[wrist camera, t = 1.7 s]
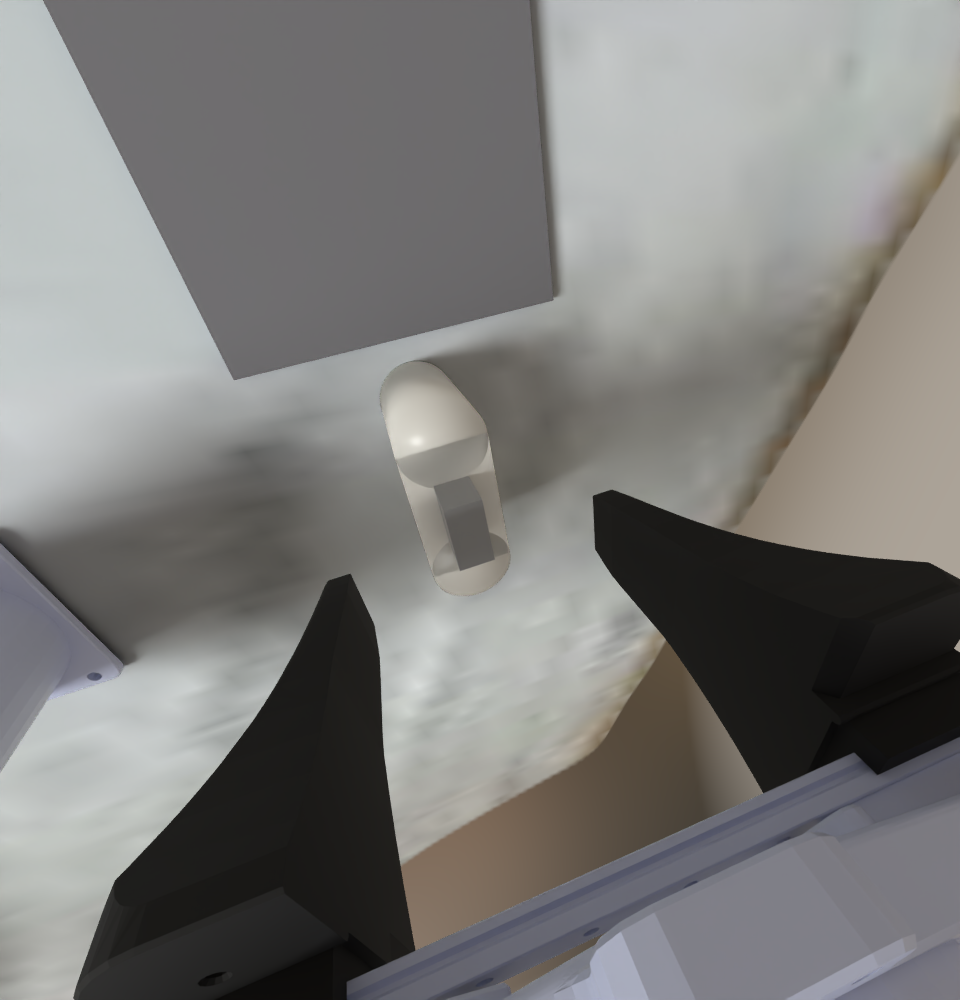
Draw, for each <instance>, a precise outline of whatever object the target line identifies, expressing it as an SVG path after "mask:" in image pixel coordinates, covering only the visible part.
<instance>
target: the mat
mask: <svg viewBox="0 0 960 1000" xmlns="http://www.w3.org/2000/svg"><path fill="white" fill-rule="evenodd" d="M43 1H44V3H45V5H46V7H47V9H48V11H49V13H50V15H51V17H52V19H53V21H54V23H55V25H56V27H57V29H58V31H59V33H60V35H61V37H62V39H63V41H64V43H65V45H66V47H67V49H68V51H69V53H70V55H71V57H72V59H73V61H74V63H75V65H76V67H77V69H78V71H79V73H80V75H81V77H82V79H83V81H84V83H85V85H86V87H87V89H88V91H89V93H90V95H91V97H92V99H93V101H94V103H95V105H96V107H97V109H98V111H99V112H100V114H101V116H102V118H103V120H104V122H105V124H106V126H107V128H108V130H109V132H110V134H111V136H112V138H113V140H114V142H115V144H116V146H117V148H118V150H119V152H120V154H121V156H122V158H123V160H124V162H125V164H126V166H127V168H128V170H129V172H130V174H131V176H132V178H133V180H134V182H135V184H136V186H137V188H138V190H139V192H140V194H141V196H142V198H143V200H144V202H145V204H146V206H147V208H148V210H149V212H150V214H151V216H152V218H153V220H154V222H155V224H156V226H157V228H158V230H159V232H160V234H161V236H162V238H163V240H164V242H165V244H166V246H167V248H168V250H169V252H170V254H171V256H172V258H173V260H174V262H175V264H176V266H177V268H178V270H179V272H180V274H181V276H182V278H183V280H184V282H185V284H186V286H187V288H188V290H189V292H190V294H191V296H192V298H193V300H194V302H195V304H196V306H197V308H198V310H199V312H200V314H201V316H202V318H203V320H204V322H205V324H206V326H207V328H208V330H209V332H210V334H211V336H212V338H213V340H214V342H215V343H216V345H217V347H218V349H219V351H220V353H221V355H222V357H223V359H224V361H225V363H226V365H227V367H228V369H229V371H230V373H231V375H232V377H233V379H234V380H237V379H241V378H245V377H249V376H253V375H257V374H261V373H265V372H269V371H273V370H277V369H281V368H285V367H289V366H293V365H297V364H301V363H305V362H309V361H313V360H317V359H321V358H325V357H329V356H333V355H337V354H341V353H345V352H349V351H353V350H357V349H361V348H365V347H369V346H373V345H377V344H381V343H385V342H389V341H393V340H397V339H401V338H405V337H409V336H413V335H417V334H421V333H425V332H429V331H433V330H437V329H441V328H445V327H449V326H453V325H457V324H461V323H465V322H469V321H473V320H476V319H480V318H484V317H488V316H492V315H496V314H500V313H504V312H508V311H512V310H516V309H520V308H524V307H528V306H532V305H536V304H540V303H544V302H548V301H552V300H553V289H552V276H551V263H550V251H549V238H548V226H547V213H546V201H545V188H544V176H543V163H542V150H541V138H540V125H539V113H538V100H537V88H536V75H535V63H534V50H533V38H532V25H531V12H530V0H43Z"/></svg>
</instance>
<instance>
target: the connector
mask: <svg viewBox="0 0 960 1000" xmlns="http://www.w3.org/2000/svg"><path fill="white" fill-rule="evenodd" d="M380 404H381V408H382V412H383V416H384V420H385V423H386V427H387V431H388V435H389V438H390V442H391V446H392V450H393V453H394V457H395V461H396V464H397V467H398V470H399V473H400V476H401V479H402V482H403V485H404V488H405V491H406V494H407V497H408V500H409V503H410V506H411V510H412V513H413V516H414V519H415V522H416V525H417V528H418V531H419V534H420V537H421V540H422V543H423V546H424V549H425V552H426V555H427V559H428V562H429V565H430V568H431V571H432V574H433V577H434V579H435V582H436V583H437V585H438V586H439V587H440V588H441V589H442V590H444V591H445V592H447V593H450V594H453V595H457V596H470V595H475V594H479V593H481V592H484V591H486V590H488V589H490V588H491V587H493V586H494V585H495V584H497V583H498V582H499V581H500V580H501V579H502V577H503V576H504V575H505V573H506V571H507V569H508V567H509V564H510V550H509V544H508V539H507V534H506V528H505V523H504V517H503V512H502V507H501V501H500V496H499V491H498V485H497V480H496V474H495V469H494V464H493V458H492V453H491V447H490V442H489V437H488V432H487V428H486V425H485V423H484V420H483V419H482V417H481V416H480V414H479V413H478V412H477V411H476V410H475V408H474V407H473V406H472V405H471V404H470V403H469V401H468V400H467V399H466V398H465V397H464V396H463V394H462V393H461V392H460V391H459V390H458V389H457V387H456V386H455V385H454V384H453V383H452V382H451V380H450V379H449V378H448V377H447V376H446V375H445V373H444V372H443V371H442V370H441V369H439V368H438V367H436V366H434V365H433V364H430V363H427V362H423V361H412V362H407V363H404V364H402V365H399V366H398V367H396V368H395V369H393V370H392V371H391V372H390V373H389V374H388V376H387V377H386V379H385V380H384V382H383V384H382V387H381V392H380Z"/></svg>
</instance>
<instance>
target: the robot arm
mask: <svg viewBox="0 0 960 1000" xmlns="http://www.w3.org/2000/svg"><path fill="white" fill-rule="evenodd" d="M593 509H594V532H595V550H596V551H597V553H598V554H599V556H600V558H601V559H602V561H603V563H604V564H605V566H606V567H607V569H608V570H609V572H610V573H611V575H612V576H613V577H614V579H615V580H616V581H617V582H618V583H619V585H620V586H621V587H622V588H623V589H624V591H625V592H626V593H627V594H628V595H629V596H630V598H631V599H632V600H633V601H634V602H635V603H636V605H637V606H638V607H639V608H640V609H641V610H642V612H643V613H644V614H645V615H646V616H647V617H648V619H649V620H650V621H651V622H652V623H653V624H654V626H655V627H656V628H657V629H658V630H659V631H660V633H661V634H662V635H663V636H664V638H665V639H666V640H667V642H668V643H669V644H670V645H671V647H672V648H673V650H674V651H675V652H676V654H677V655H678V657H679V658H680V660H681V661H682V663H683V664H684V665H685V667H686V668H687V670H688V671H689V673H690V674H691V676H692V677H693V679H694V680H695V682H696V683H697V684H698V686H699V688H700V689H701V691H702V692H703V694H704V695H705V697H706V698H707V700H708V701H709V703H710V704H711V706H712V708H713V709H714V711H715V712H716V714H717V716H718V717H719V719H720V721H721V722H722V724H723V725H724V727H725V728H726V730H727V731H728V733H729V735H730V737H731V738H732V740H733V742H734V743H735V745H736V746H737V748H738V750H739V752H740V753H741V755H742V757H743V759H744V760H745V762H746V764H747V765H748V767H749V769H750V771H751V772H752V774H753V776H754V778H755V779H756V781H757V783H758V784H759V786H760V788H761V790H762V792H763V794H761V795H759V796H757V797H754V798H752V799H750V800H748V801H746V802H743V803H741V804H739V805H737V806H734V807H733V808H730V809H728V810H726V811H723V812H721V813H719V814H717V815H715V816H712V817H710V818H708V819H706V820H704V821H701V822H699V823H697V824H695V825H692V826H690V827H688V828H686V829H684V830H681V831H679V832H677V833H675V834H673V835H670V836H668V837H666V838H664V839H662V840H659V841H657V842H655V843H653V844H650V845H648V846H646V847H644V848H642V849H639V850H637V851H635V852H633V853H631V854H628V855H626V856H624V857H622V858H620V859H617V860H615V861H613V862H611V863H609V864H606V865H604V866H602V867H600V868H597V869H595V870H593V871H591V872H589V873H586V874H584V875H582V876H580V877H577V878H575V879H573V880H571V881H569V882H566V883H564V884H562V885H560V886H558V887H555V888H553V889H551V890H549V891H547V892H544V893H542V894H540V895H538V896H535V897H533V898H531V899H529V900H527V901H525V902H522V903H520V904H518V905H516V906H513V907H511V908H509V909H507V910H504V911H502V912H500V913H498V914H496V915H494V916H491V917H489V918H487V919H485V920H482V921H480V922H478V923H476V924H474V925H471V926H469V927H467V928H465V929H463V930H460V931H458V932H456V933H454V934H451V935H449V936H447V937H445V938H443V939H440V940H438V941H436V942H434V943H432V944H429V945H427V946H425V947H423V948H421V949H418V950H416V951H415V946H414V941H413V935H412V930H411V924H410V918H409V913H408V907H407V902H406V896H405V890H404V885H403V879H402V873H401V866H400V860H399V854H398V848H397V842H396V836H395V829H394V822H393V816H392V809H391V802H390V795H389V788H388V781H387V773H386V766H385V759H384V748H383V733H382V704H381V677H380V657H379V650H378V644H377V638H376V632H375V626H374V623H373V621H372V619H371V617H370V614H369V612H368V610H367V608H366V606H365V604H364V602H363V599H362V597H361V595H360V593H359V591H358V589H357V587H356V585H355V582H354V580H353V578H352V576H351V574H348V575H345V576H342V577H339V578H335V579H332V580H329V581H328V582H327V584H326V585H325V588H324V590H323V592H322V594H321V597H320V599H319V601H318V604H317V606H316V608H315V610H314V613H313V615H312V617H311V619H310V621H309V624H308V626H307V628H306V630H305V632H304V634H303V636H302V638H301V640H300V642H299V644H298V646H297V648H296V650H295V652H294V654H293V656H292V657H291V659H290V661H289V663H288V665H287V667H286V668H285V670H284V672H283V674H282V676H281V677H280V679H279V681H278V683H277V684H276V686H275V688H274V689H273V691H272V692H271V694H270V696H269V697H268V699H267V700H266V702H265V704H264V705H263V707H262V708H261V710H260V711H259V713H258V714H257V716H256V717H255V719H254V720H253V722H252V723H251V724H250V726H249V727H248V728H247V730H246V731H245V732H244V734H243V735H242V736H241V738H240V739H239V740H238V742H237V743H236V744H235V746H234V747H233V748H232V750H231V751H230V752H229V754H228V755H227V756H226V758H225V759H224V760H223V762H222V763H221V764H220V765H219V767H218V768H217V769H216V770H215V772H214V773H213V774H212V775H211V776H210V778H209V779H208V780H207V781H206V782H205V784H204V785H203V786H202V787H201V788H200V790H199V791H198V792H197V793H196V794H195V795H194V797H193V798H192V799H191V800H190V801H189V802H188V803H187V805H186V806H185V807H184V808H183V809H182V810H181V811H180V813H179V814H178V815H177V816H176V817H175V818H174V819H173V820H172V821H171V823H170V824H169V825H168V826H167V827H166V828H165V829H164V830H163V831H162V832H161V833H160V834H159V835H158V836H157V837H156V838H155V840H154V841H153V842H152V843H151V844H150V845H149V846H148V847H147V848H146V849H145V850H144V851H143V852H142V853H141V854H140V855H139V856H138V857H137V858H136V860H135V861H134V862H133V863H132V864H131V865H130V866H129V867H128V868H127V869H126V870H125V871H124V872H123V873H122V874H121V875H120V876H119V877H118V878H117V879H116V880H115V882H114V884H113V887H112V889H111V892H110V894H109V897H108V899H107V902H106V905H105V907H104V910H103V912H102V915H101V918H100V921H99V924H98V926H97V929H96V932H95V935H94V938H93V940H92V943H91V946H90V949H89V952H88V955H87V957H86V960H85V963H84V966H83V969H82V972H81V974H80V977H79V980H78V983H77V986H76V989H75V993H74V997H73V998H74V1000H960V652H958V651H956V650H955V649H954V647H955V646H956V644H957V643H958V641H959V640H960V579H959V578H957V577H955V576H953V575H951V574H949V573H948V572H945V571H944V570H942V569H940V568H938V567H937V566H934V565H933V564H931V563H928V562H915V561H902V560H890V559H877V558H866V557H857V556H849V555H841V554H833V553H826V552H820V551H813V550H807V549H801V548H796V547H791V546H786V545H780V544H776V543H771V542H766V541H762V540H758V539H753V538H750V537H746V536H742V535H738V534H734V533H731V532H727V531H724V530H720V529H717V528H714V527H711V526H708V525H705V524H702V523H699V522H696V521H693V520H690V519H687V518H685V517H682V516H679V515H676V514H674V513H671V512H668V511H666V510H663V509H661V508H658V507H656V506H653V505H651V504H648V503H646V502H643V501H641V500H638V499H636V498H633V497H631V496H628V495H625V494H623V493H620V492H617V491H614V490H609V491H606V492H603V493H600V494H597V495H594V496H593ZM123 666H124V665H123V663H122V662H121V661H120V660H119V659H118V658H117V657H116V656H115V655H114V654H113V653H112V652H111V651H110V650H109V649H108V648H107V647H106V646H105V645H104V644H103V643H102V642H101V641H99V640H98V639H97V638H96V637H95V636H94V635H93V634H92V633H91V632H90V631H89V630H88V629H87V628H86V627H85V626H84V625H83V624H82V623H81V622H80V621H79V620H78V619H77V618H76V617H75V616H74V615H73V614H72V613H71V612H70V611H69V610H68V609H67V608H66V607H65V606H64V605H63V604H62V603H61V602H60V601H59V600H58V599H57V598H56V597H55V596H54V595H53V594H51V593H50V592H49V591H48V590H47V589H46V588H45V587H44V586H43V585H42V584H41V583H40V582H39V581H38V580H37V579H36V578H35V577H34V576H33V575H32V574H31V573H30V572H29V571H28V570H27V569H26V568H25V567H24V566H23V565H22V564H21V563H20V562H19V561H18V560H17V559H16V558H15V557H14V556H13V555H12V554H11V553H10V552H9V551H8V550H7V549H6V548H5V547H3V546H2V545H1V544H0V772H1V771H2V769H3V768H4V766H5V765H6V763H7V761H8V760H9V758H10V757H11V755H12V754H13V752H14V751H15V749H16V748H17V746H18V745H19V743H20V741H21V740H22V738H23V737H24V735H25V734H26V732H27V731H28V729H29V728H30V726H31V725H32V723H33V721H34V720H35V718H36V717H37V715H38V714H39V712H40V711H41V709H42V708H43V706H44V705H45V703H46V702H47V701H48V700H51V699H54V698H57V697H60V696H63V695H66V694H69V693H72V692H75V691H78V690H81V689H84V688H87V687H90V686H93V685H96V684H99V683H102V682H105V681H108V680H111V679H114V678H116V677H118V676H119V675H120V674H121V672H122V670H123ZM94 672H95V673H94ZM605 932H607V933H606V934H604V935H603V936H602V937H601V938H599V940H598V941H597V944H596V945H594V946H593V947H591V948H589V949H587V950H586V951H584V952H582V953H580V954H579V955H577V956H576V957H574V958H572V959H570V960H569V961H567V962H565V963H564V964H562V965H560V966H559V967H557V968H555V969H553V970H552V971H550V972H548V973H547V974H545V975H543V976H542V977H540V978H538V979H537V980H535V981H533V982H531V983H530V984H528V985H526V986H525V987H523V988H522V989H520V990H518V991H516V992H514V993H513V994H511V990H510V987H509V986H508V985H507V984H505V983H501V984H498V983H500V982H502V981H504V980H507V979H509V978H511V977H513V976H515V975H517V974H519V973H521V972H524V971H526V970H528V969H530V968H532V967H534V966H536V965H538V964H540V963H542V962H544V961H546V960H549V959H551V958H553V957H555V956H557V955H559V954H561V953H563V952H565V951H568V950H570V949H572V948H574V947H576V946H578V945H580V944H582V943H584V942H586V941H589V940H591V939H593V938H595V937H597V936H599V935H601V934H603V933H605ZM496 984H497V985H496Z"/></svg>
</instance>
